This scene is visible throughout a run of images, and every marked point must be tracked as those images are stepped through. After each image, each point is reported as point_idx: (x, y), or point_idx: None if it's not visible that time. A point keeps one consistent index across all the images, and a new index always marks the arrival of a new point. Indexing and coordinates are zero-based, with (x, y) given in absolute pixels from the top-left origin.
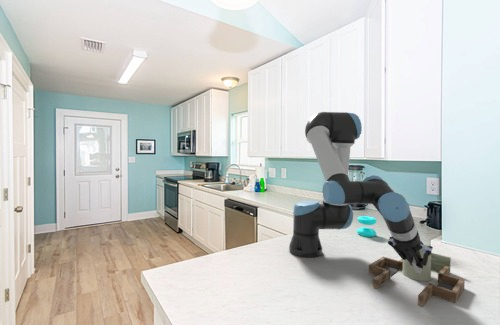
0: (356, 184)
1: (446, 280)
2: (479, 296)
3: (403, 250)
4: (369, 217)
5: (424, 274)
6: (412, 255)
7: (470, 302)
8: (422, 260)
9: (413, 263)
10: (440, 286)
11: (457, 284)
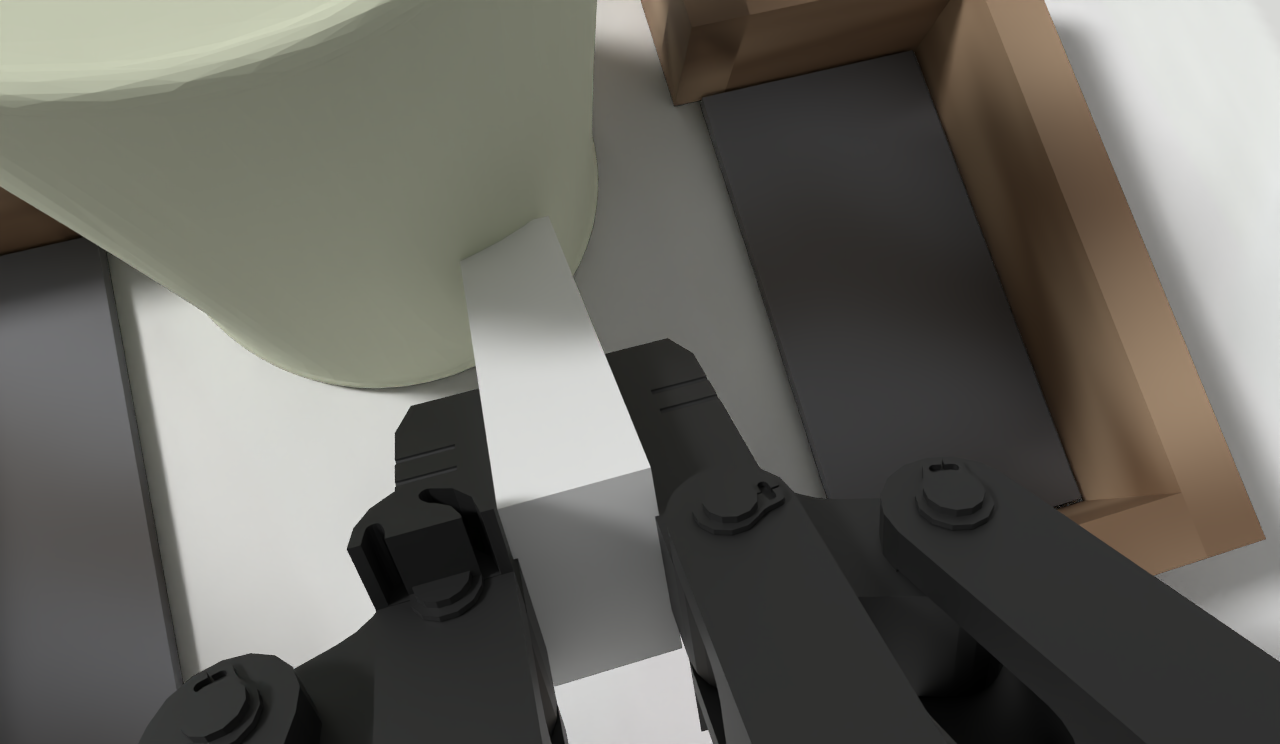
0: None
1: (790, 49)
2: (1133, 56)
3: None
4: None
5: (568, 227)
6: (542, 708)
7: (1196, 330)
8: (906, 661)
9: (594, 669)
10: (801, 252)
11: (1073, 179)
